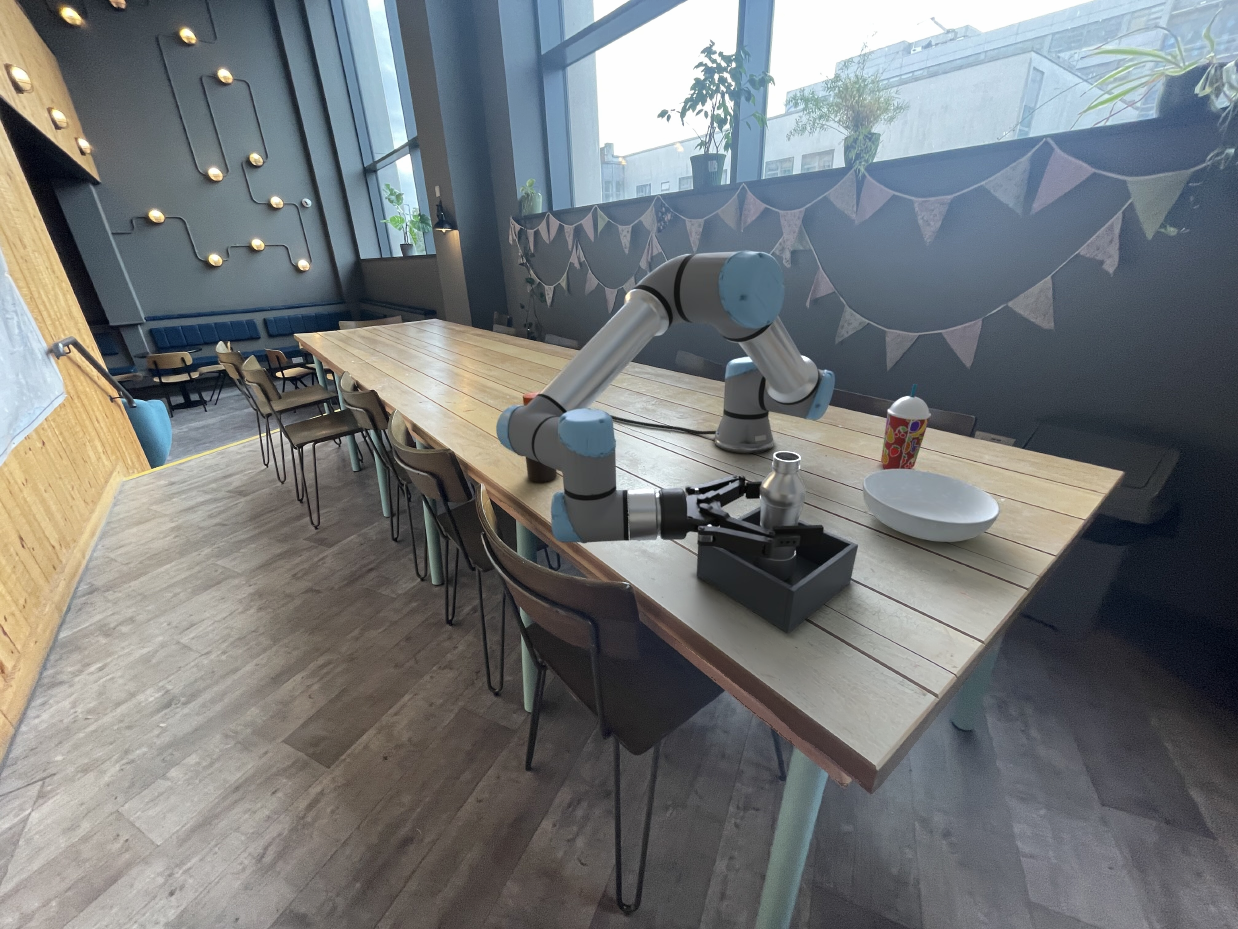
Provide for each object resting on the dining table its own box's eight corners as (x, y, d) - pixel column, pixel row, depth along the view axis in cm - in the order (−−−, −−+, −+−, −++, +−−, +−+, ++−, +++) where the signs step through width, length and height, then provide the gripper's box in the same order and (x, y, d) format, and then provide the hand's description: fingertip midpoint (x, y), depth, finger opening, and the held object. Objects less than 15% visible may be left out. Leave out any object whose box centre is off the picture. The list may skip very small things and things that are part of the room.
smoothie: (922, 476, 105) (944, 389, 97) (882, 474, 107) (900, 388, 99) (909, 462, 113) (928, 380, 105) (871, 460, 114) (888, 379, 106)
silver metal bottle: (794, 565, 75) (811, 449, 67) (794, 591, 69) (812, 468, 61) (752, 558, 77) (764, 445, 69) (749, 583, 71) (761, 463, 63)
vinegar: (540, 485, 107) (531, 400, 99) (522, 478, 111) (512, 395, 103) (562, 476, 111) (555, 394, 103) (544, 468, 116) (536, 389, 108)
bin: (696, 575, 75) (698, 538, 72) (760, 538, 84) (763, 504, 82) (787, 633, 63) (794, 591, 60) (850, 583, 72) (858, 544, 69)
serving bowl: (936, 571, 74) (946, 534, 72) (832, 512, 92) (838, 481, 89) (1016, 539, 82) (1029, 504, 79) (906, 490, 99) (913, 461, 97)
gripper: (652, 497, 82) (773, 493, 82) (666, 589, 59) (835, 584, 59) (652, 457, 79) (778, 453, 79) (666, 539, 56) (845, 533, 56)
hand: (803, 510), depth 69 cm, fingers open, 13 cm apart
